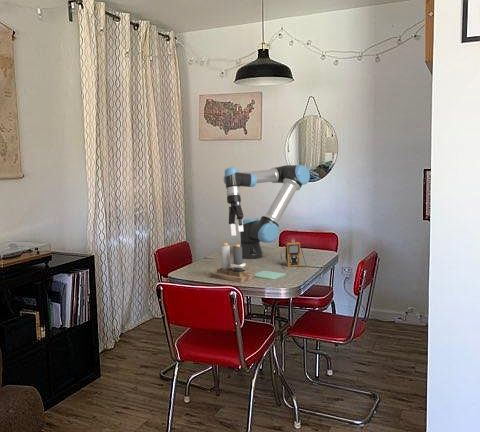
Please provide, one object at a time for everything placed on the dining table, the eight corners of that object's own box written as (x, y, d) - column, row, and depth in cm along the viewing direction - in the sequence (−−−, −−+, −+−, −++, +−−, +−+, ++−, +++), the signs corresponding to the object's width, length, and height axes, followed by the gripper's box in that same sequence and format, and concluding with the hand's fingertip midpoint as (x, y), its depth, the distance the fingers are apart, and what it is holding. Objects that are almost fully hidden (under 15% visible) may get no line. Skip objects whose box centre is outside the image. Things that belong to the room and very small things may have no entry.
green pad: (263, 271, 259) (263, 270, 259) (286, 274, 250) (286, 273, 250) (250, 276, 250) (250, 275, 249) (272, 279, 241) (272, 278, 241)
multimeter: (285, 270, 260) (284, 233, 258) (280, 266, 270) (279, 230, 268) (311, 268, 263) (311, 231, 261) (305, 264, 273) (304, 229, 270)
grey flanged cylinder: (237, 272, 249) (236, 243, 247) (249, 274, 244) (248, 244, 243) (230, 275, 245) (229, 245, 243) (242, 277, 240) (241, 246, 238)
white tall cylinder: (225, 271, 253) (224, 242, 251) (232, 272, 250) (231, 243, 249) (220, 273, 250) (219, 243, 248) (226, 274, 247) (225, 244, 245)
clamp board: (224, 273, 258) (224, 265, 258) (254, 277, 246) (254, 270, 245) (210, 277, 250) (210, 269, 249) (241, 282, 237) (240, 274, 237)
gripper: (221, 200, 280) (224, 237, 277) (233, 190, 257) (237, 230, 253) (233, 200, 283) (237, 236, 279) (246, 189, 259) (250, 229, 256)
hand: (237, 233), depth 266 cm, fingers open, 13 cm apart
